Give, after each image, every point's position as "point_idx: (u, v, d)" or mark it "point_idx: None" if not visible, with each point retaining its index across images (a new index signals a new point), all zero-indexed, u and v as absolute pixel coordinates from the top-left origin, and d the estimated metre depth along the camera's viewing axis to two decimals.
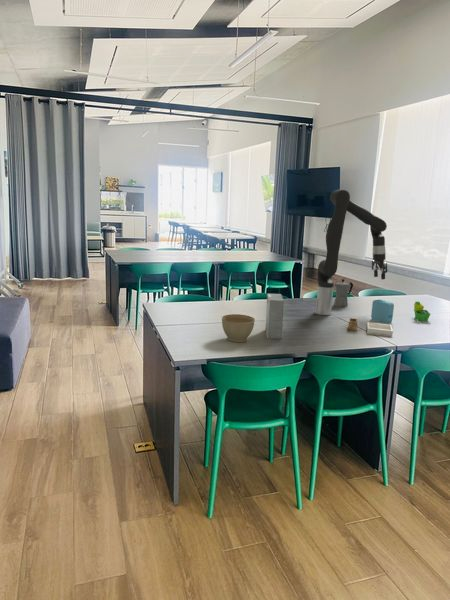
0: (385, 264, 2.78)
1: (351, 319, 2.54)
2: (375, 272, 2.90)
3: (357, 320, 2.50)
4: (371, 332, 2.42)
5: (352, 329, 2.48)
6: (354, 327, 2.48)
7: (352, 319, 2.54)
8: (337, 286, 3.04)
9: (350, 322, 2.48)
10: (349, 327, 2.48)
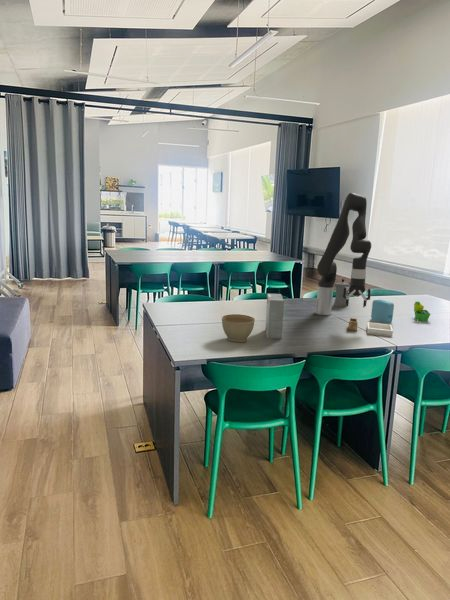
0: (344, 288, 2.49)
1: (351, 319, 2.54)
2: None
3: (357, 320, 2.50)
4: (371, 332, 2.42)
5: (352, 329, 2.48)
6: (354, 327, 2.48)
7: (352, 319, 2.54)
8: (337, 286, 3.04)
9: (350, 322, 2.48)
10: (349, 327, 2.48)
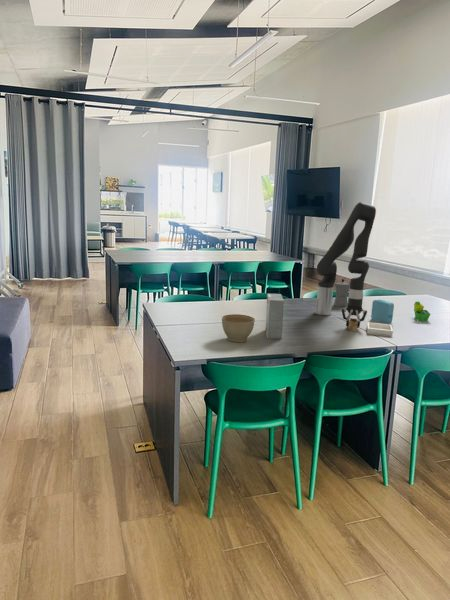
0: None
1: (351, 319, 2.54)
2: None
3: (357, 320, 2.50)
4: (371, 332, 2.42)
5: (352, 329, 2.48)
6: (354, 327, 2.48)
7: (352, 319, 2.54)
8: (337, 286, 3.04)
9: (350, 322, 2.48)
10: (349, 327, 2.48)
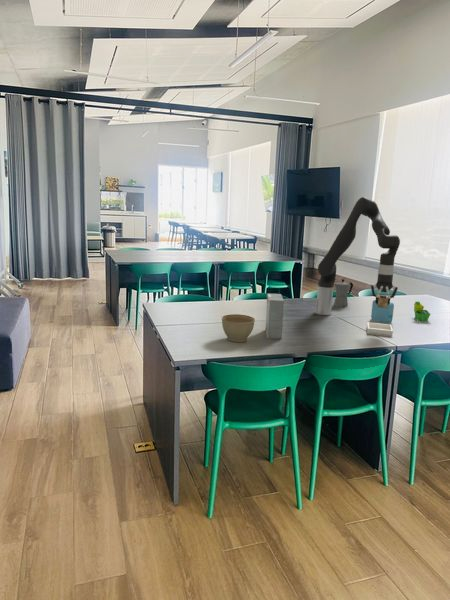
0: (371, 286, 2.44)
1: (380, 296, 2.47)
2: None
3: (387, 297, 2.43)
4: (371, 332, 2.42)
5: (382, 306, 2.41)
6: (384, 304, 2.40)
7: (381, 296, 2.47)
8: (337, 286, 3.04)
9: (380, 299, 2.40)
10: (379, 304, 2.41)
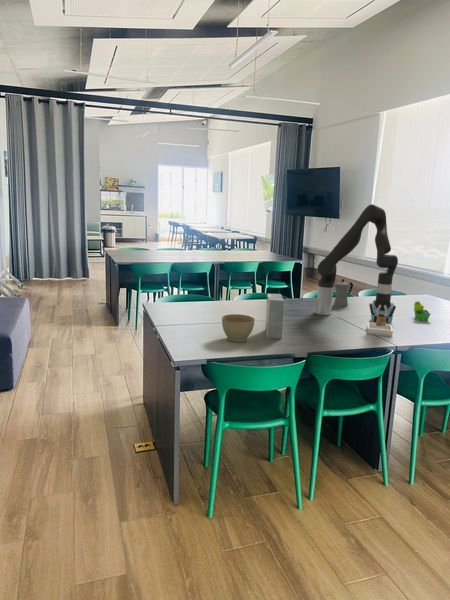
0: None
1: (379, 314, 2.49)
2: None
3: (385, 315, 2.45)
4: (371, 332, 2.42)
5: (380, 325, 2.43)
6: (383, 323, 2.42)
7: (380, 314, 2.49)
8: (337, 286, 3.04)
9: (378, 317, 2.42)
10: (377, 323, 2.43)
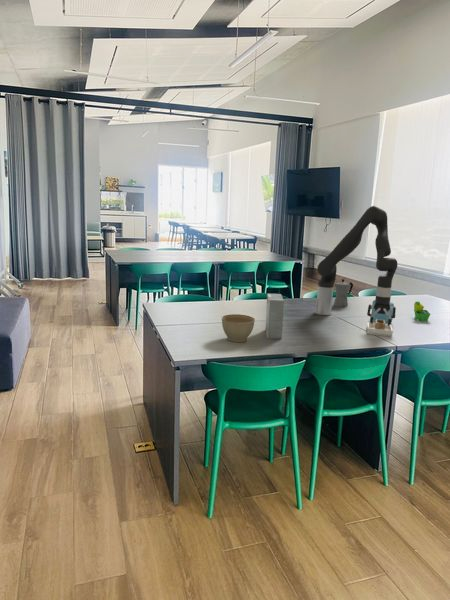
0: (368, 306, 2.46)
1: (378, 320, 2.50)
2: (388, 319, 2.46)
3: (384, 322, 2.46)
4: (371, 332, 2.42)
5: None
6: None
7: (379, 320, 2.50)
8: (337, 286, 3.04)
9: (377, 324, 2.43)
10: None
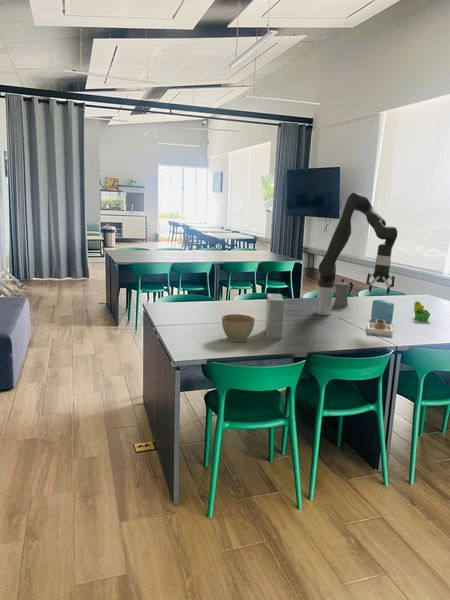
0: (368, 274, 2.48)
1: (378, 320, 2.50)
2: (387, 288, 2.47)
3: (384, 322, 2.46)
4: (371, 332, 2.42)
5: None
6: None
7: (379, 320, 2.50)
8: (337, 286, 3.04)
9: (377, 324, 2.43)
10: None
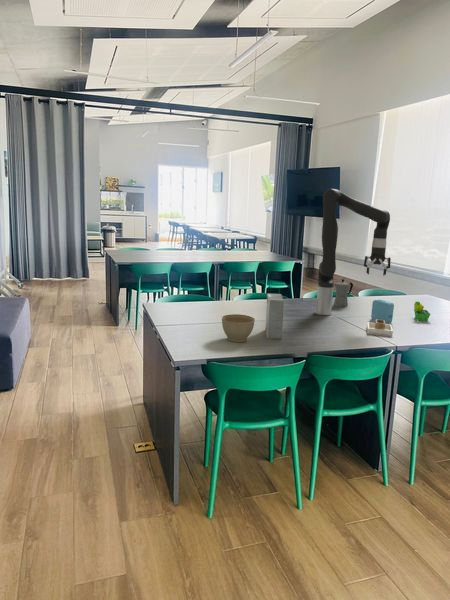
0: (365, 257, 2.61)
1: (378, 320, 2.50)
2: None
3: (384, 322, 2.46)
4: (371, 332, 2.42)
5: None
6: None
7: (379, 320, 2.50)
8: (337, 286, 3.04)
9: (377, 324, 2.43)
10: None
